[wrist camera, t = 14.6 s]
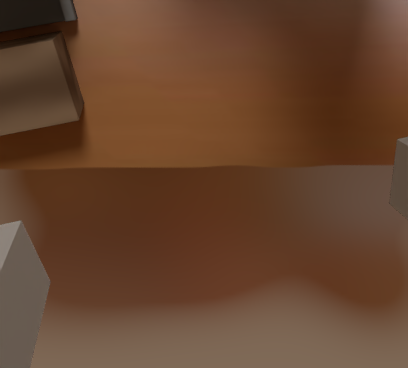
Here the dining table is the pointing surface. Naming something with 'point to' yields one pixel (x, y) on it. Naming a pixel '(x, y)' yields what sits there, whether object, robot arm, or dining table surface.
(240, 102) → the dining table surface
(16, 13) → the tray mat
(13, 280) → the robot arm
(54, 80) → the ledge block
